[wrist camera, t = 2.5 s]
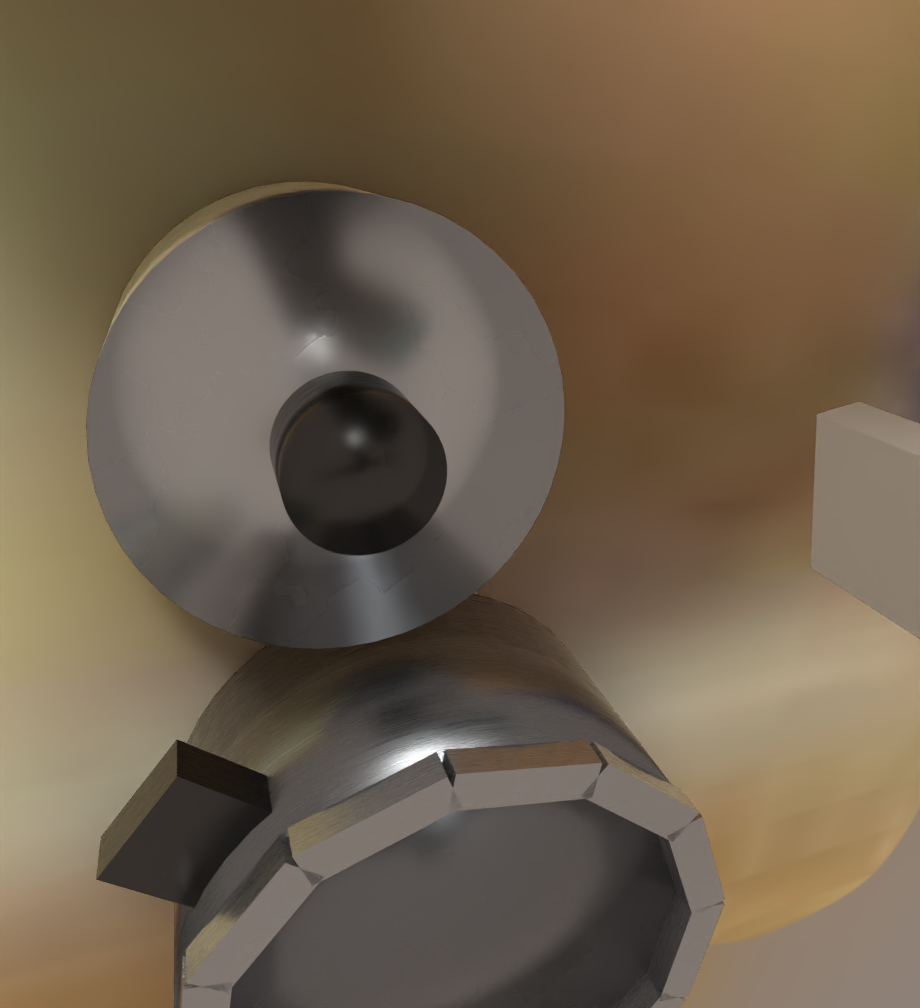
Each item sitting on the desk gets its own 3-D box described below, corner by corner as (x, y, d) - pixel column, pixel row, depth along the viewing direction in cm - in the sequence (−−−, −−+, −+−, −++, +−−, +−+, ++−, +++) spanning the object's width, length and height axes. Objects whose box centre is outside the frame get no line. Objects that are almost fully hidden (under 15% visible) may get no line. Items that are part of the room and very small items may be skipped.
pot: (7, 847, 23) (-62, 1138, 16) (295, 467, 21) (350, 618, 15) (467, 983, 32) (545, 1209, 25) (699, 722, 30) (850, 890, 23)
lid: (266, 81, 18) (308, 52, 12) (565, 348, 23) (694, 416, 17) (19, 436, 19) (-47, 559, 13) (351, 617, 24) (405, 764, 18)
